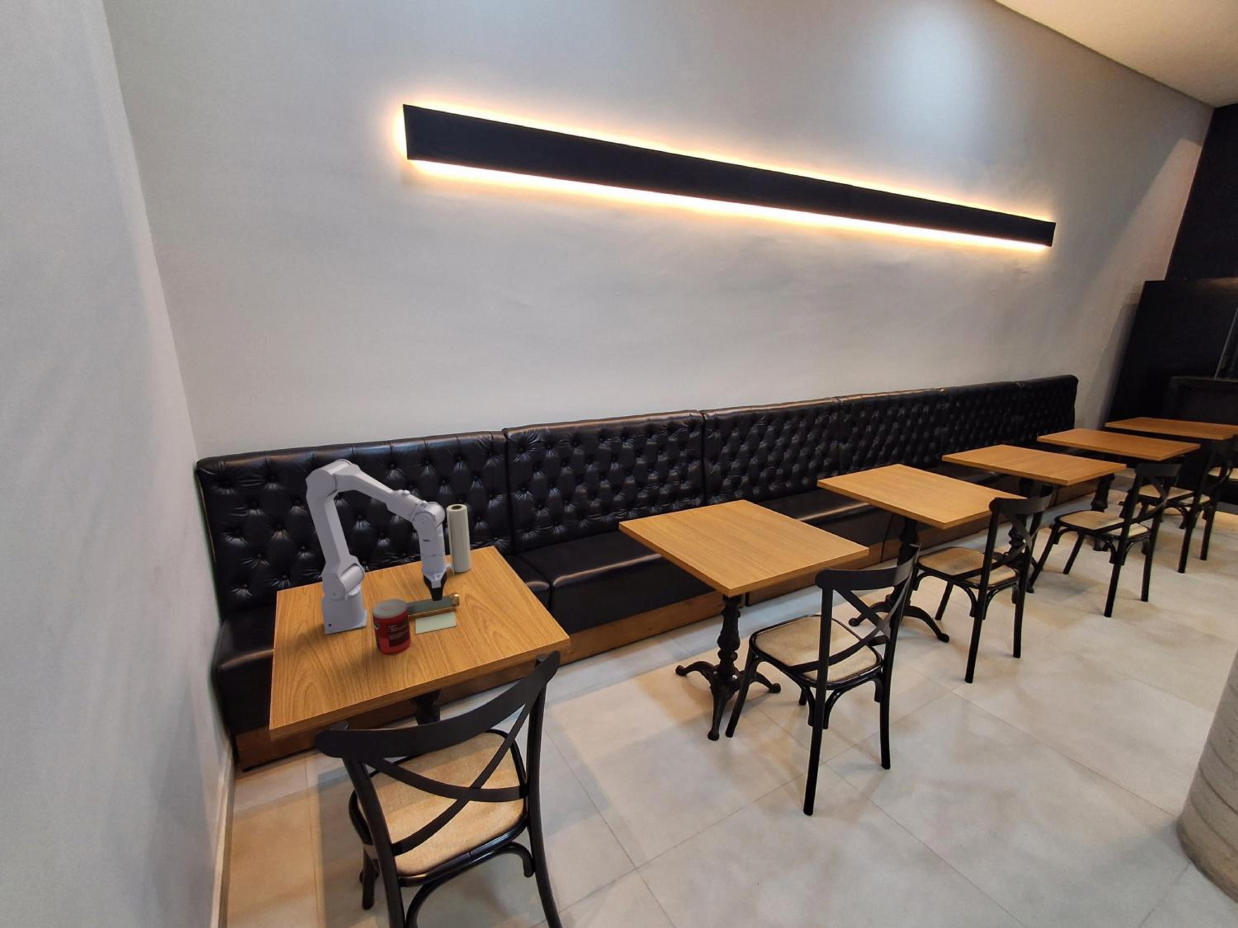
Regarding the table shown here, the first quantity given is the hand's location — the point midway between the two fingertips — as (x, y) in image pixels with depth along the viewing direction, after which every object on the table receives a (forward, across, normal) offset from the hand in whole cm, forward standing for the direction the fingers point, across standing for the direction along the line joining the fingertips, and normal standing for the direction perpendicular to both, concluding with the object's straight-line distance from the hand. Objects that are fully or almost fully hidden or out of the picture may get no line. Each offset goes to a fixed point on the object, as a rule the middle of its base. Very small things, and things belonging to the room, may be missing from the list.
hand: (437, 599), depth 131 cm
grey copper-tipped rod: (+7, +8, +3) cm, 11 cm away
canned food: (+9, -4, +11) cm, 15 cm away
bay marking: (+8, +2, +1) cm, 9 cm away
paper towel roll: (+9, +31, -8) cm, 33 cm away
